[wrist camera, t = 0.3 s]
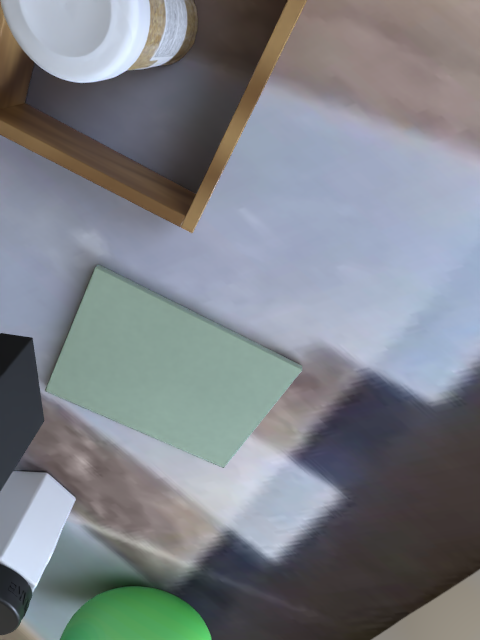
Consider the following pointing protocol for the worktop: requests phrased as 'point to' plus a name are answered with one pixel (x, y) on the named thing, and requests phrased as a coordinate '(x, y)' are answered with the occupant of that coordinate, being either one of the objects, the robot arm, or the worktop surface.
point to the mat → (167, 370)
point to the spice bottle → (101, 34)
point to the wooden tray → (108, 165)
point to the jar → (27, 538)
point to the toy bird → (136, 617)
